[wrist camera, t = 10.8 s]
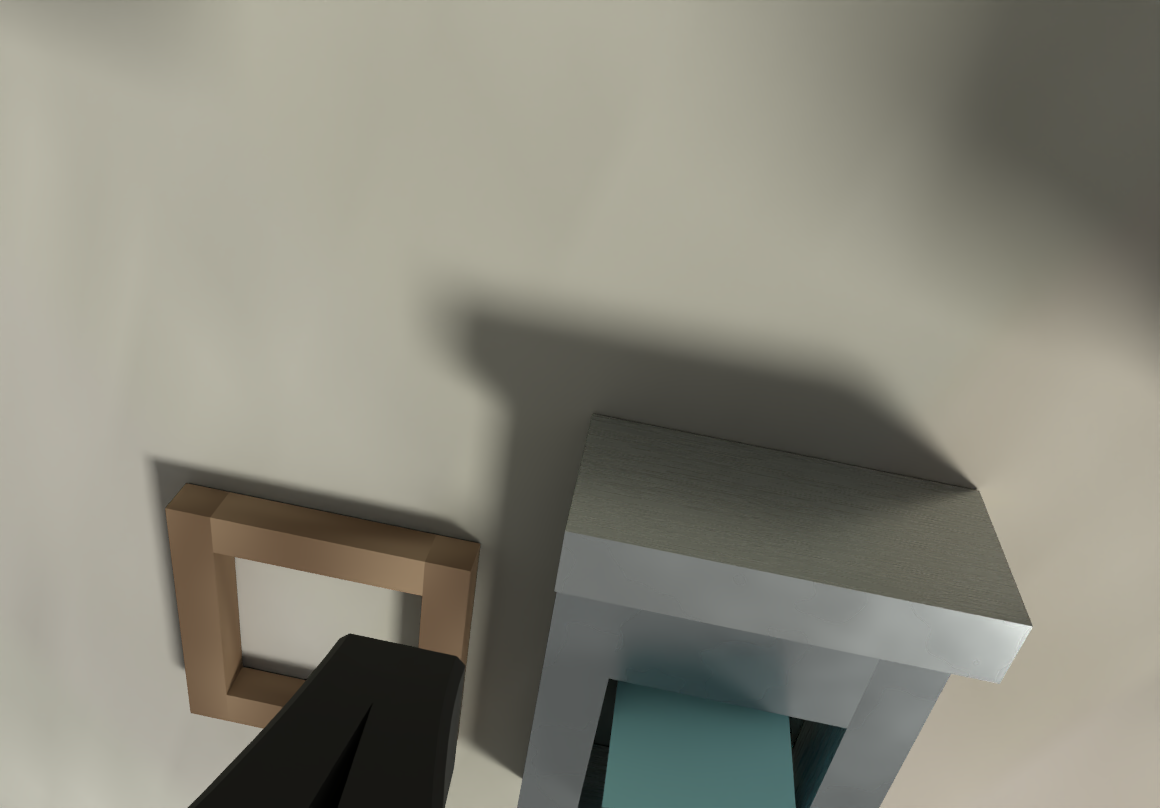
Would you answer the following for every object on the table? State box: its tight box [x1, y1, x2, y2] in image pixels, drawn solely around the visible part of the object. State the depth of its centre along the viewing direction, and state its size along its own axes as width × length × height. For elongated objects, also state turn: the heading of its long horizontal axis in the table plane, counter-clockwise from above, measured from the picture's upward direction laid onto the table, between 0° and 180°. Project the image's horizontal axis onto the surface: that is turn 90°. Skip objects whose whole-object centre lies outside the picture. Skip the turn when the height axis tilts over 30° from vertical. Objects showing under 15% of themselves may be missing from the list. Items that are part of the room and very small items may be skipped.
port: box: [517, 414, 1033, 808], centre depth 21 cm, size 8×13×4 cm, turn 172°
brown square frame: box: [165, 483, 480, 739], centre depth 24 cm, size 7×7×1 cm
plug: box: [602, 680, 796, 808], centre depth 22 cm, size 4×4×6 cm
